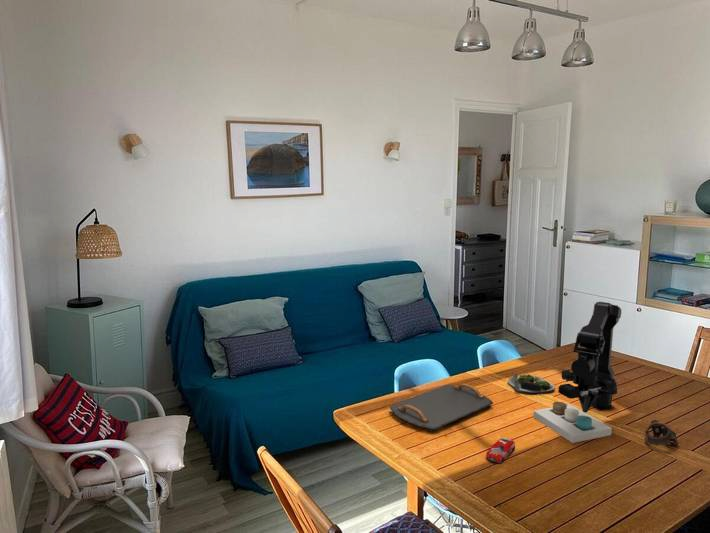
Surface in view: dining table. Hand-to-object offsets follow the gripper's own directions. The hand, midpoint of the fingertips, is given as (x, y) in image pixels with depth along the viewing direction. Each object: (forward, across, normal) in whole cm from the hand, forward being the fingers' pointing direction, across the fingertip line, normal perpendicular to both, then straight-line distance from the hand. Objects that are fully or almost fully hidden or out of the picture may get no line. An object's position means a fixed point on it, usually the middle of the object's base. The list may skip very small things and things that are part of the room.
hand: (584, 412), depth 178 cm
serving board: (+8, +36, -32) cm, 49 cm away
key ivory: (+6, 0, -6) cm, 8 cm away
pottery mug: (+8, -18, +14) cm, 24 cm away
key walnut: (+6, 0, -12) cm, 13 cm away
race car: (+8, +34, +2) cm, 35 cm away
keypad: (+8, 0, -6) cm, 10 cm away
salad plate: (+8, -9, -40) cm, 41 cm away
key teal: (+6, 0, 0) cm, 6 cm away
